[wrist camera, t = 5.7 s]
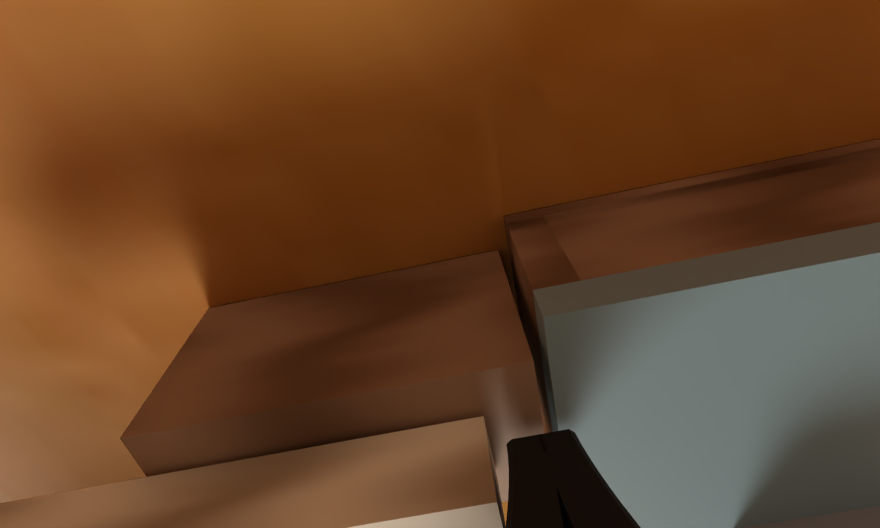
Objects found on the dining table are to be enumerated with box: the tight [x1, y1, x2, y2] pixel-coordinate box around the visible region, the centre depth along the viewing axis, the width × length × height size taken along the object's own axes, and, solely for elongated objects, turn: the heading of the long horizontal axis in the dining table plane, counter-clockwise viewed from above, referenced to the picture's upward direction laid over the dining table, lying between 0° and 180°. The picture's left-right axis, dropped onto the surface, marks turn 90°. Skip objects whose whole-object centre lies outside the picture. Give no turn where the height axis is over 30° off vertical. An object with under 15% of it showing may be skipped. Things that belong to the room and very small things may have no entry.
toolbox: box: [120, 139, 880, 502], centre depth 16 cm, size 21×18×5 cm
